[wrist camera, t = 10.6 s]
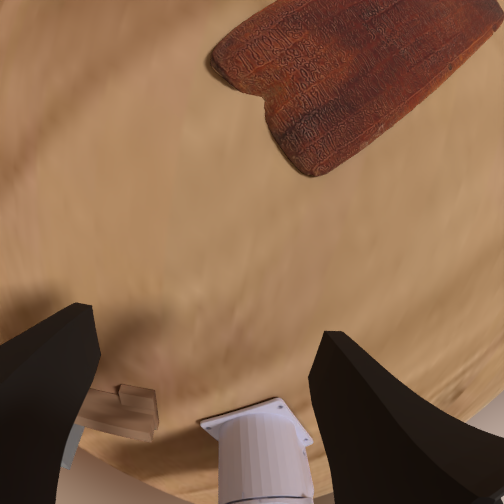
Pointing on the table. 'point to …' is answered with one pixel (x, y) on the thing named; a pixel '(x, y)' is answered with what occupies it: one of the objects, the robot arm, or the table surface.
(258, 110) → the table surface
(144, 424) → the walnut slotted stand
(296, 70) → the wooden tablet
